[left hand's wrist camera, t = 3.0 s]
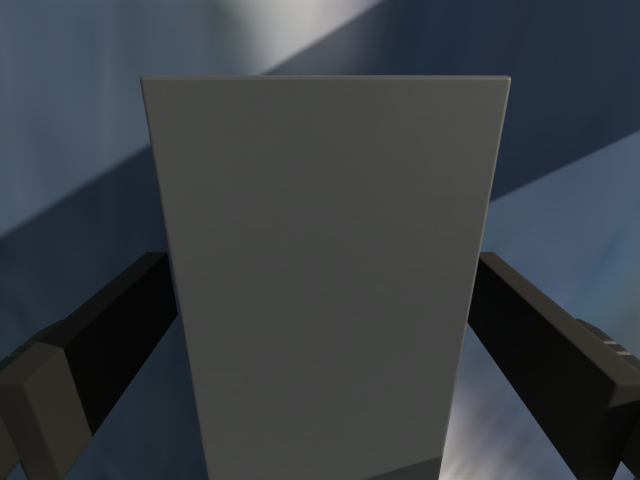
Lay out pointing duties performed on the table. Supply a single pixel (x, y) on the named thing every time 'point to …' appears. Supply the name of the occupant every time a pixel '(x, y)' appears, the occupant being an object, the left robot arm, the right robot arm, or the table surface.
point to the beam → (324, 261)
